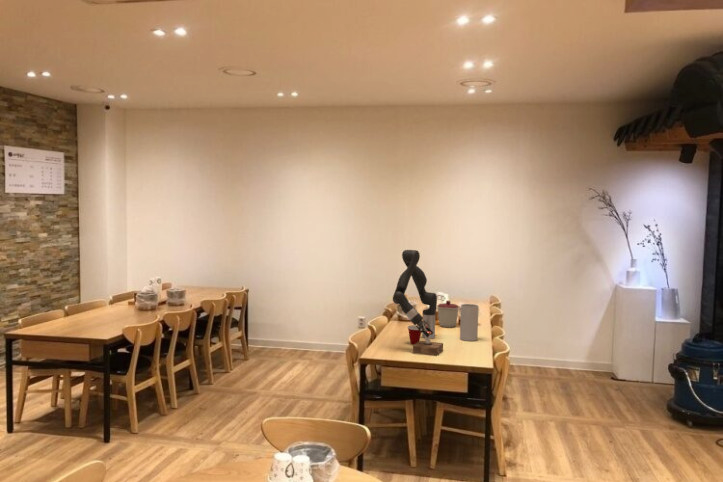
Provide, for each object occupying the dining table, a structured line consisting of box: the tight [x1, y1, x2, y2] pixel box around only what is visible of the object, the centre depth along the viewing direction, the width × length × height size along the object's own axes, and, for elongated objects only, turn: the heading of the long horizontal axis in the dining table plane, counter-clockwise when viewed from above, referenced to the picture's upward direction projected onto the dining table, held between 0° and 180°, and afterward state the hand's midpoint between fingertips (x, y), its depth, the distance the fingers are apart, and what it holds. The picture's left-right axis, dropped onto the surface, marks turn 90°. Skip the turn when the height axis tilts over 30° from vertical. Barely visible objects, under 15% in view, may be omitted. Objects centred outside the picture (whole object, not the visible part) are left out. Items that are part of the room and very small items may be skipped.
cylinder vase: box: [459, 303, 479, 342], centre depth 417 cm, size 12×12×25 cm
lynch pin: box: [424, 331, 431, 345], centre depth 378 cm, size 4×4×13 cm
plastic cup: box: [407, 324, 422, 345], centre depth 400 cm, size 11×11×12 cm
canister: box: [436, 300, 460, 328], centre depth 464 cm, size 18×18×21 cm
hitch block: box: [412, 340, 444, 357], centre depth 378 cm, size 16×16×5 cm
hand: (430, 335), depth 377 cm, fingers open, 8 cm apart
